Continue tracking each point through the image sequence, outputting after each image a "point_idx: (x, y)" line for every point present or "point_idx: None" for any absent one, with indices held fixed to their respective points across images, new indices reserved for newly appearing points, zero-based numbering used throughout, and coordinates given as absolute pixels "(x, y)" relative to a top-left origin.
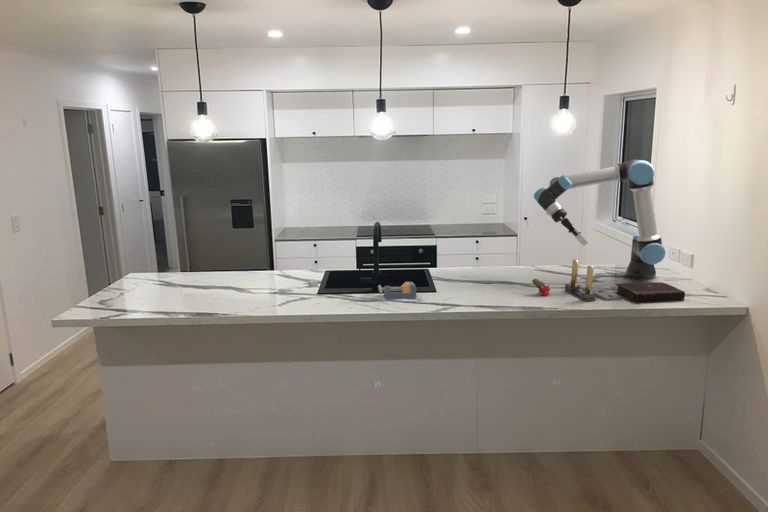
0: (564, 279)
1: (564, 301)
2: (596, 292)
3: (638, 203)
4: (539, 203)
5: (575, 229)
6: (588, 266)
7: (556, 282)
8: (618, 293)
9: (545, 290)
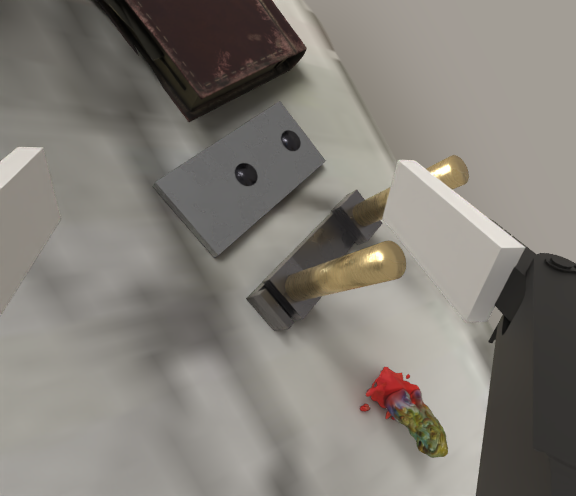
0: (18, 414)
1: (399, 295)
2: (273, 192)
3: None
4: None
5: (517, 242)
6: (464, 179)
7: (138, 430)
8: (203, 108)
9: (373, 393)
